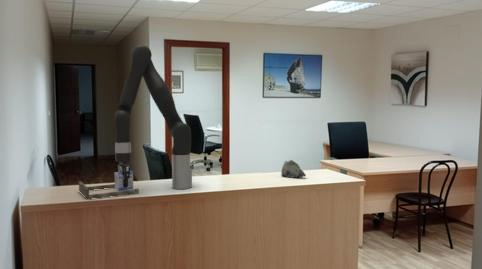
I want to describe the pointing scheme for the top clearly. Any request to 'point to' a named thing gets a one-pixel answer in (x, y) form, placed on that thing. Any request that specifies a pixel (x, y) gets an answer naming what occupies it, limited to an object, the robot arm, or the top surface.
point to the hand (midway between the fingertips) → (124, 185)
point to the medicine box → (120, 181)
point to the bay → (85, 192)
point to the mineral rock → (291, 170)
